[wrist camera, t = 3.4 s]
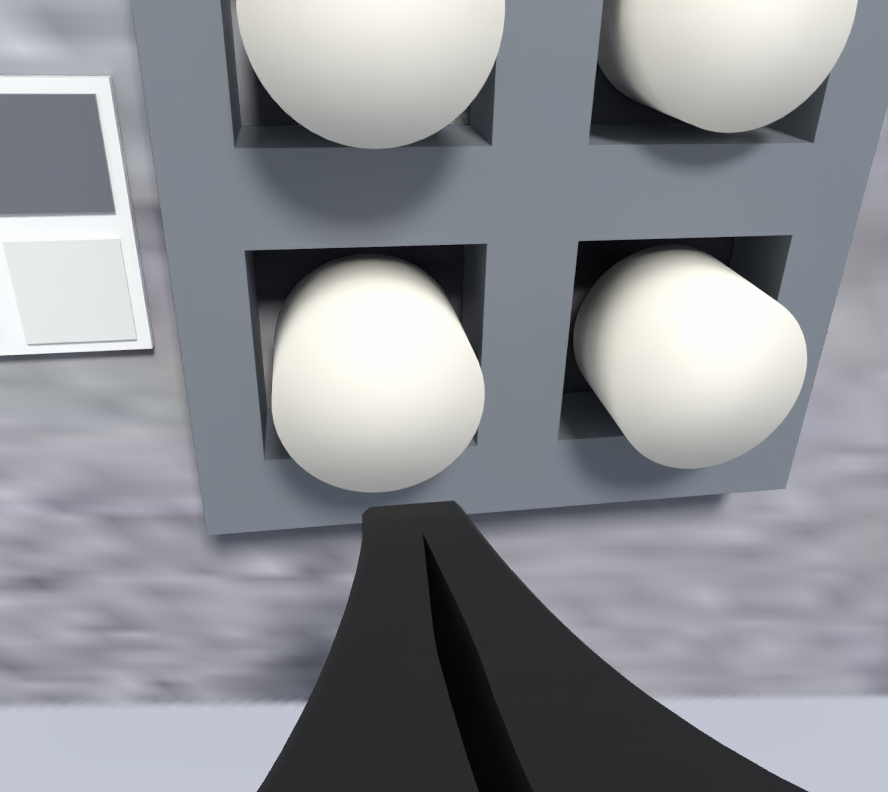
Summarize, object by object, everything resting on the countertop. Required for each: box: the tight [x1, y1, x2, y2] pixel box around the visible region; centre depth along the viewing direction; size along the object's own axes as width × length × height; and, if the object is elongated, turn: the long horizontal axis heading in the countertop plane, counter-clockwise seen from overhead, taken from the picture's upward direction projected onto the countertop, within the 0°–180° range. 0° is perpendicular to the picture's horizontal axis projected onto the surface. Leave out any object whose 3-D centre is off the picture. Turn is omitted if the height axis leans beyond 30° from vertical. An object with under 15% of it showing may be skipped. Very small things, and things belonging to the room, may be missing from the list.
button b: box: [236, 0, 505, 149], centre depth 14 cm, size 4×4×3 cm
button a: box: [597, 0, 858, 133], centre depth 16 cm, size 4×4×3 cm
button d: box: [272, 253, 485, 493], centre depth 17 cm, size 4×4×3 cm
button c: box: [573, 244, 807, 469], centre depth 18 cm, size 4×4×3 cm
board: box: [131, 0, 888, 535], centre depth 18 cm, size 15×16×2 cm
